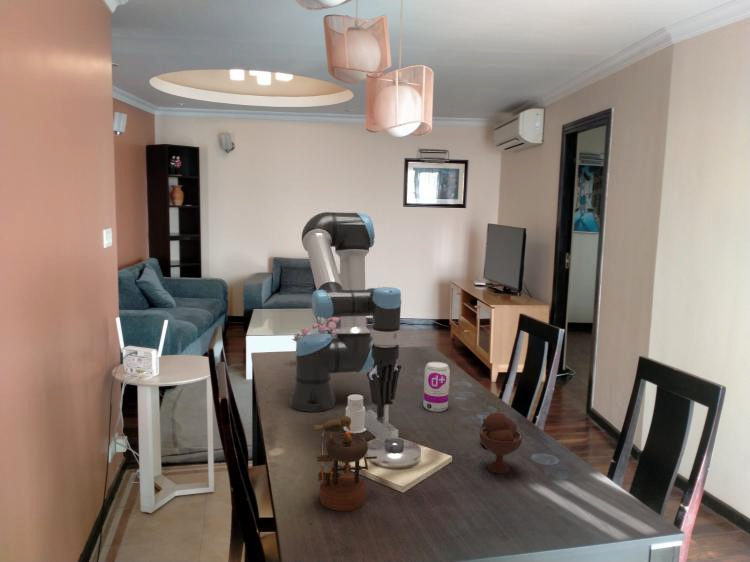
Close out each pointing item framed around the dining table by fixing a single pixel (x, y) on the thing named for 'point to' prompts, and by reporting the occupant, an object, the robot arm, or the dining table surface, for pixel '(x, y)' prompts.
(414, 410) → the dining table surface
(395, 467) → the dial
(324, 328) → the flower
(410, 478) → the base plate
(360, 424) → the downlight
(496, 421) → the ice cream bowl
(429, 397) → the supplement can
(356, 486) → the music box
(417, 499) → the dining table surface
